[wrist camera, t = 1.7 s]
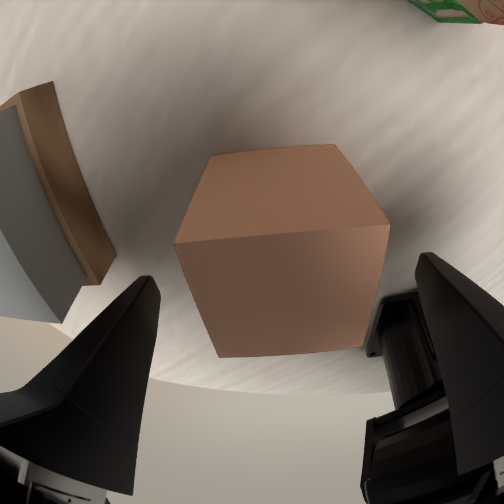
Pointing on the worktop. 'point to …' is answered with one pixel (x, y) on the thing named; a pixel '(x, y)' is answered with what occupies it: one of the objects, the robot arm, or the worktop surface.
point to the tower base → (63, 179)
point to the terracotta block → (283, 251)
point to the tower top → (31, 238)
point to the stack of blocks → (463, 10)
